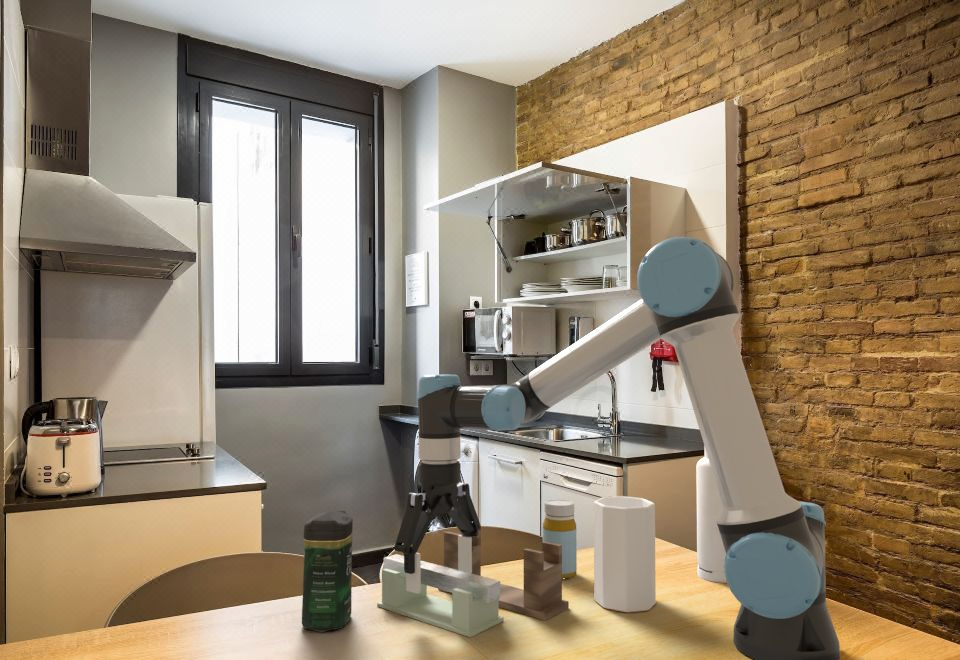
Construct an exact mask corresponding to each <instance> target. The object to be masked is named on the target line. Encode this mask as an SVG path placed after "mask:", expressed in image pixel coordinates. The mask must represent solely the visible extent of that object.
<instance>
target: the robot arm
mask: <svg viewBox="0 0 960 660" xmlns="http://www.w3.org/2000/svg"><path fill="white" fill-rule="evenodd" d="M636 276H637V277H636V283H637V289H638V292H639V295H640V297H641V298H640V299H639V300H638V301H636V302H634V303H633V304H632V305H630V306H629V307H627V308H626V309H624V310H623V311H621V312H620V313H618V314H617V315H615V316H613V317H612V318H611V319H608V321H606V322H604V323H603V324H601V325H600V326H598V327H597V328H596V329H594V330H593V331H591V332H589V333H588V334H585V336H583V337H581V338H580V339H578V340H577V341H576V342H574V343H572V344H571V345H570V346H568V347H567V348H565V349H564V350H561V351H560V352H559V353H558V354H556V355H554V356H552V358H550V359H548V360H546V361H545V362H544V363H542V364H541V365H539V366H538V367H536V368H534V369H533V370H531V371H530V372H529V373H527V374H526V375H524V376H523V377H521V378H520V379H518V380H517V381H514V382H513V383H508V384H507V383H505V384H495V385H493V384H492V385H463V384H462V383H461V381H460V376H459V375H458V374H448V373H447V374H443V373H442V374H424V375H421V376H420V378H419V380H418V392H417V412H418V413H417V414H418V459H419V460H420V462H419V463H418V468H417V469H418V483H419V484H420V485H421V492H420V493H415V492H409V493H408V494H407V502H406V503H407V505H406V509H405V511H404V515H403V518H402V521H401V524H400V528H399V531H398V534H397V536H396V541H395V542H394V549H393V550H394V551H396V552H399V553H402V554H403V556H404V571H405V573H406V591H410V592H413V593H417V594H418V593H421V561H422V560H421V558H422V557H421V556H422V555H421V553H419V552H418V551H419V548H420V547H421V544H422V542H423V540H424V538H425V536H426V534H427V532H428V530H429V527H430V526H431V524H432V522H433V521H434V520H436V518H437V516H441V515H443V514H448V516H449V517H450V519H451V520H452V522H453V523H454V525H455V526H456V528H457V529H458V530H459V532H460V534H461V535H459V536H458V570H459V571H463V572H467V573H472V552H473V536H475V537H476V536H477V535H478V531H477V530H480V529H481V530H482V526H481V522H480V520H479V516H478V514H477V510H476V509H475V505H474V503H473V500H472V497H471V491H470V485H469V483H465V482H461V480H462V479H461V478H462V477H461V475H462V474H461V471H462V469H461V467H462V466H461V462H460V461H458V460H460V458H461V457H462V456H461V454H462V453H461V451H462V450H461V429H471V430H473V429H474V430H475V429H476V430H487V431H490V430H491V431H496V432H501V431H515V430H517V429H518V428H519V427H521V424H529V423H533V422H535V421H536V420H539V419H540V418H541V417H542V416H544V414H545V413H546V412H547V411H548V410H549V409H551V408H553V406H555V405H556V404H558V403H560V402H561V401H563V400H564V399H566V398H568V397H569V396H571V395H573V394H574V393H575V392H578V391H580V390H581V389H583V388H584V387H586V386H588V385H589V384H590V383H592V382H594V381H595V380H597V379H599V378H600V377H602V376H603V375H605V374H607V373H608V372H610V371H611V370H614V368H616V367H618V366H620V365H621V364H623V363H625V362H626V361H627V360H629V359H631V358H632V357H634V356H635V355H638V354H639V353H640V352H642V351H644V350H645V349H648V348H649V347H650V346H651V345H653V344H655V343H657V342H658V341H660V340H662V341H664V342H665V343H668V344H670V345H671V346H672V347H673V348H674V350H675V355H676V357H677V360H678V363H679V364H678V365H679V367H680V370H681V374H682V377H683V379H684V380H683V381H684V383H685V387H686V390H687V393H688V396H689V399H690V403H691V406H692V409H693V412H694V413H693V414H694V416H695V419H696V422H697V426H698V429H699V433H700V435H701V439H702V442H703V445H704V446H705V449H706V452H707V455H708V459H709V462H710V465H711V468H712V472H713V475H714V478H715V481H716V485H717V488H718V491H719V494H720V498H721V501H722V504H723V507H722V510H721V512H720V514H719V515H718V517H717V519H716V521H717V525H718V528H719V532H720V535H721V539H722V542H723V545H724V549H725V552H726V557H725V564H724V568H725V577H726V581H727V583H726V584H727V586H728V588H729V591H730V592H731V594H732V595H733V596H734V598H735V599H736V600H737V602H739V603H740V607H739V610H738V612H737V615H736V619H735V622H734V625H733V630H732V631H733V644H734V647H736V649H737V650H738V651H739V652H740V653H742V654H744V655H746V657H749V658H751V659H753V660H840V659H841V658H840V657H841V651H840V650H841V649H840V641H839V638H838V635H837V632H836V629H835V627H834V626H835V625H834V624H833V621H832V618H831V614H830V612H829V609H828V607H827V595H826V594H827V592H826V591H827V588H826V584H827V582H826V545H825V544H826V538H825V537H826V536H825V535H826V534H825V532H826V531H825V528H826V526H827V523H826V522H827V521H826V519H825V512H824V511H825V510H823V507H822V506H820V505H819V504H816V503H812V502H807V501H800V500H797V499H795V498H793V497H792V496H791V495H789V494H788V493H786V491H785V487H784V485H783V482H782V479H781V476H780V473H779V469H778V466H777V464H776V461H775V457H774V454H773V451H772V448H771V445H770V442H769V438H768V435H767V432H766V429H765V427H764V424H763V420H762V418H761V414H760V411H759V408H758V405H757V401H756V399H755V395H754V393H753V390H752V386H751V383H750V380H749V378H748V373H747V371H746V368H745V365H744V361H743V358H742V356H741V352H740V350H739V346H738V343H737V340H736V337H735V334H734V327H735V325H736V323H737V321H738V320H739V318H740V313H739V311H738V308H737V304H736V301H735V299H734V289H735V276H734V274H733V270H732V267H731V266H730V265H729V263H728V261H727V260H726V259H725V258H724V257H723V256H722V255H721V254H719V253H718V252H716V251H715V249H714V248H712V247H711V245H709V244H708V243H707V242H704V241H702V240H700V239H697V238H692V237H686V236H676V237H670V238H667V239H664V240H662V241H660V242H658V243H657V244H655V245H653V246H652V247H651V248H650V249H649V250H648V252H647V253H646V254H644V257H643V258H642V259H641V262H640V264H639V267H638V269H637V275H636ZM704 446H703V447H704Z"/></svg>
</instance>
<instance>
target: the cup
mask: <svg viewBox="0 0 960 660" xmlns="http://www.w3.org/2000/svg"><path fill="white" fill-rule="evenodd" d="M655 505H656V504H655V503H654V502H653V501H650V500H648V499H645V498H643V497H635V496H625V495H616V496H615V495H613V496H602V497H600V498H598V499H595V500H594V501H593V556H594V557H593V564H594V565H593V570H594V571H593V584H594V585H593V588H594V591H593V592H594V593H593V594H594V595H593V596H594V597H593V599H594V601H595V602H596V603H598V604H599V605H600V606H601V607H602V608H604V609H606V610H611V611H616V612H620V613H621V612H622V613H626V614H627V613H629V614H630V613H641V612H648V611H650V610H651V608H653V606H655V605H656V603H657V600H656V598H657V597H656V595H657V593H656V506H655Z"/></svg>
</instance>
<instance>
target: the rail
mask: <svg viewBox="0 0 960 660" xmlns="http://www.w3.org/2000/svg"><path fill="white" fill-rule="evenodd" d="M383 569H390V570H394V571H397V572H400V578H403V579H406V573H405V571H404V555H401V554H395V553H394V554H392V555H389V556H385V557H383ZM421 584H423V585H427V587H431V588H433V589H441V590H444V591H443V592H445V591H448V592H451V593H450V594H452V590H453V589H455V588H458V589H461V590H465V591H468V592H472V593H473V599H476V600H479V601H482V602H486V603H490V602H492V601H495V600H497V599H499V598H500V584H501V581H500V580H499V579H498V580H497V579H493V578H489V577H485V576H482V575H481V576H479V575H475V574H471V573H467V572H463V571H459V570H456V569H452V568H448V567H444V565H440V564H436V563H433V562H428V561H424V560H421ZM441 590H440V591H441ZM448 592H447V593H448Z"/></svg>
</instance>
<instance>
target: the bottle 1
mask: <svg viewBox="0 0 960 660" xmlns="http://www.w3.org/2000/svg"><path fill="white" fill-rule="evenodd" d="M545 541H546V542H551V543H556V544H560V545H562V578H570V577H572V578H574V577H575V576H576V575H577V567H578V566H577V565H578V564H577V553H578V552H577V551H578V550H577V523H576V521H575V503H574V501H572V500H569V499H559V498H558V499H547V500H545V502H544V520H543V522H542V543H543V542H545ZM574 575H575V576H574ZM573 576H574V577H573ZM570 579H571V578H570Z"/></svg>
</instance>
